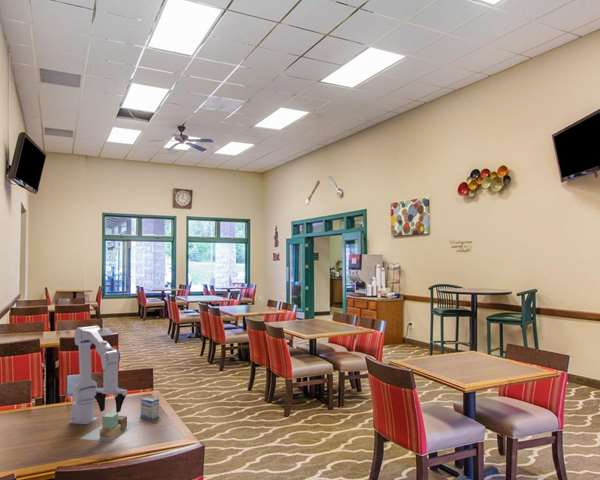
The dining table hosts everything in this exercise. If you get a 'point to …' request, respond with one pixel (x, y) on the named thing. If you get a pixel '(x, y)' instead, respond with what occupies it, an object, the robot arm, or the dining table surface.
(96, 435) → the blueprint board
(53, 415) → the dining table surface
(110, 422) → the sage-green block
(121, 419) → the walnut block
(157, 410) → the medicine box
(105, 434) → the oak base block
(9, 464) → the dining table surface
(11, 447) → the dining table surface
